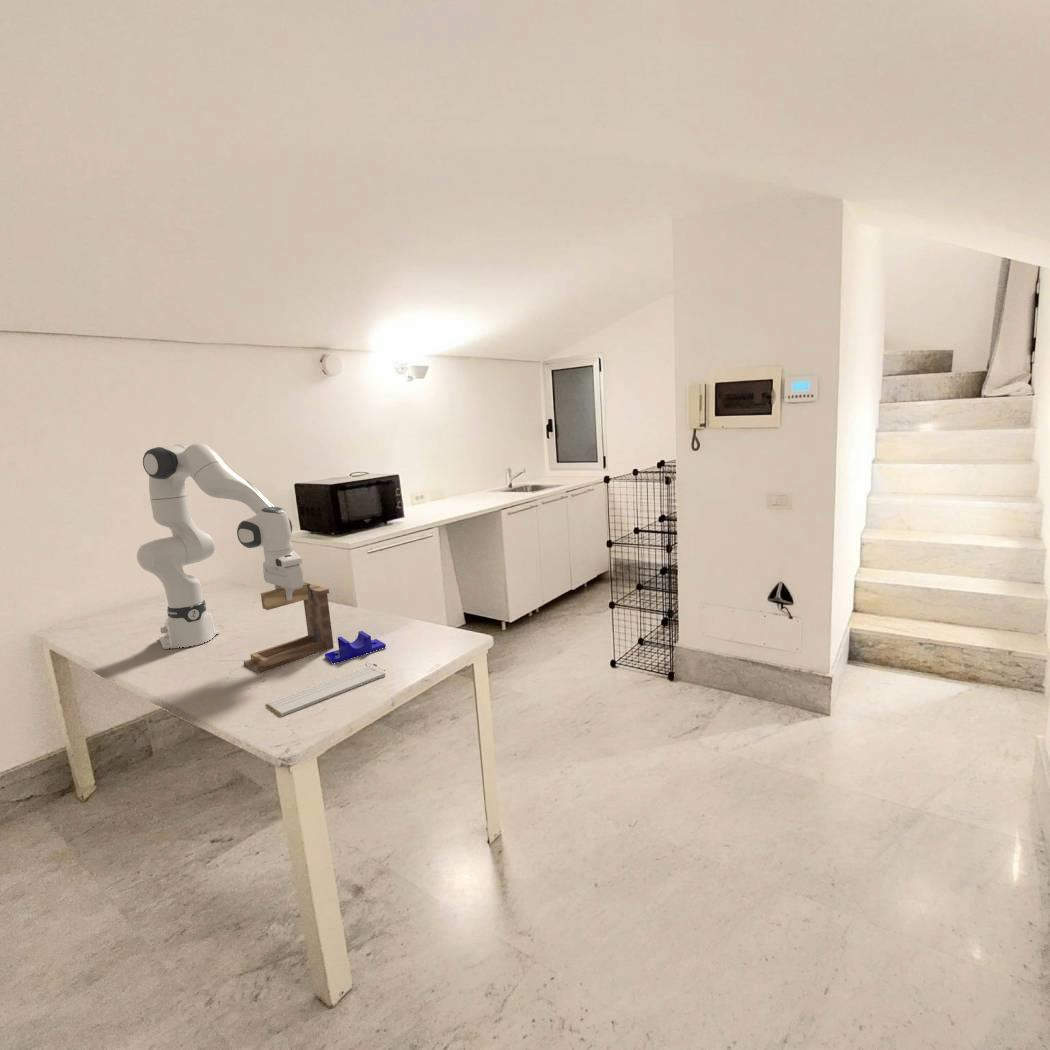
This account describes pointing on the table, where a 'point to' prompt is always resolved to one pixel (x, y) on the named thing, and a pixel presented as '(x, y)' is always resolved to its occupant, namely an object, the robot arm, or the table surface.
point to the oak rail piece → (278, 597)
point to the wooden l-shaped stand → (304, 646)
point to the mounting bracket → (354, 648)
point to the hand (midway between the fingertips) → (285, 598)
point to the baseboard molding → (324, 690)
